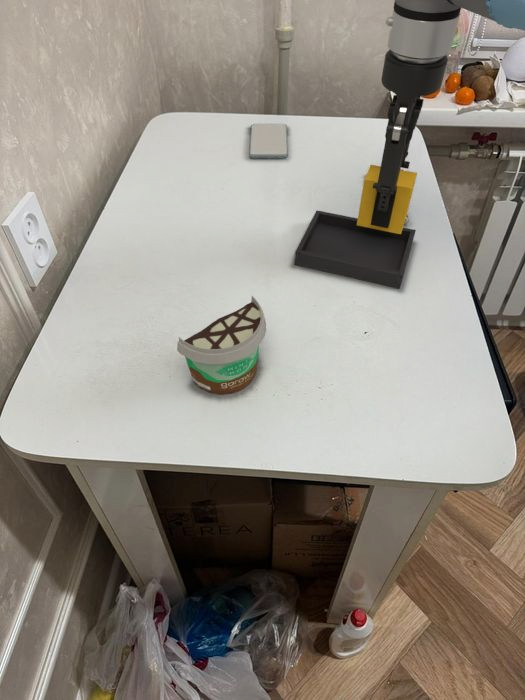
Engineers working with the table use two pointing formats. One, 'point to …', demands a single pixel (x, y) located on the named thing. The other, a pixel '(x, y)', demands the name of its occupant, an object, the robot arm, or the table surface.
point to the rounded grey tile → (268, 141)
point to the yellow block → (400, 203)
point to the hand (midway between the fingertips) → (383, 215)
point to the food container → (226, 350)
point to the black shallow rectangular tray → (354, 250)
